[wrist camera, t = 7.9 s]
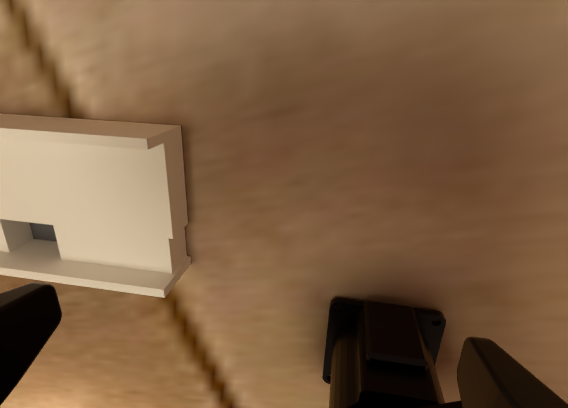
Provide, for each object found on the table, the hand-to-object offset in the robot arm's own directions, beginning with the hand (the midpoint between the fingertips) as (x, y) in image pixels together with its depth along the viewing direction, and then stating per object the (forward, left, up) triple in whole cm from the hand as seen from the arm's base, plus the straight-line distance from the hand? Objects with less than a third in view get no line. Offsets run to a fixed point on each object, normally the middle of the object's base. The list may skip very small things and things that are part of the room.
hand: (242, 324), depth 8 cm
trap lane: (-2, +18, -12) cm, 22 cm away
